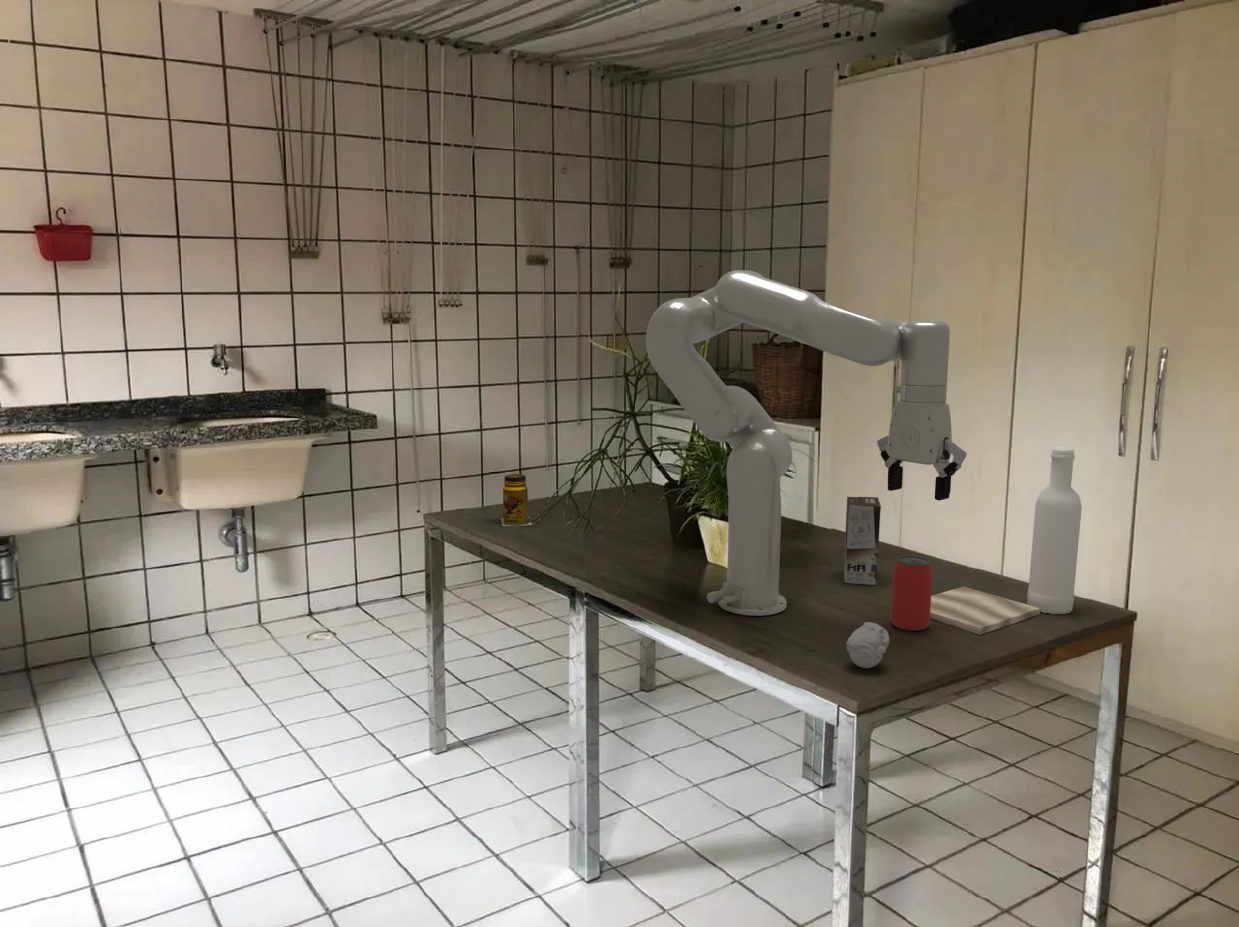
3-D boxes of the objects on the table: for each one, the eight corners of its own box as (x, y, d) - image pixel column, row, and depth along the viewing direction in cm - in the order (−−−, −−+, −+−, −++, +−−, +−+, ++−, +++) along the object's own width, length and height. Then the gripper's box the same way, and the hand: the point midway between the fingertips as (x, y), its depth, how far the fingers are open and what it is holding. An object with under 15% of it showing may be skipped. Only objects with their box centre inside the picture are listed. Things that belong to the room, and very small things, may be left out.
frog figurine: (896, 668, 156) (899, 626, 155) (863, 677, 152) (865, 634, 151) (868, 656, 161) (871, 614, 160) (836, 664, 158) (837, 622, 156)
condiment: (502, 527, 243) (501, 478, 241) (500, 518, 252) (499, 472, 249) (532, 525, 245) (531, 477, 242) (529, 517, 253) (528, 471, 251)
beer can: (907, 634, 171) (911, 566, 169) (882, 622, 177) (886, 556, 175) (937, 629, 174) (941, 562, 171) (912, 617, 180) (916, 552, 177)
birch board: (980, 634, 171) (980, 628, 171) (903, 609, 184) (904, 603, 183) (1039, 614, 181) (1039, 608, 181) (963, 592, 194) (963, 586, 194)
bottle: (1028, 598, 190) (1041, 443, 185) (1073, 604, 187) (1087, 446, 181) (1025, 611, 183) (1038, 449, 178) (1072, 617, 180) (1087, 453, 174)
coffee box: (877, 585, 198) (881, 506, 195) (844, 583, 199) (847, 504, 196) (875, 572, 207) (879, 496, 204) (843, 570, 208) (846, 495, 205)
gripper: (867, 392, 173) (863, 489, 176) (953, 401, 159) (947, 506, 162) (895, 389, 177) (890, 483, 180) (981, 398, 163) (975, 500, 167)
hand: (917, 494), depth 171 cm, fingers open, 9 cm apart
